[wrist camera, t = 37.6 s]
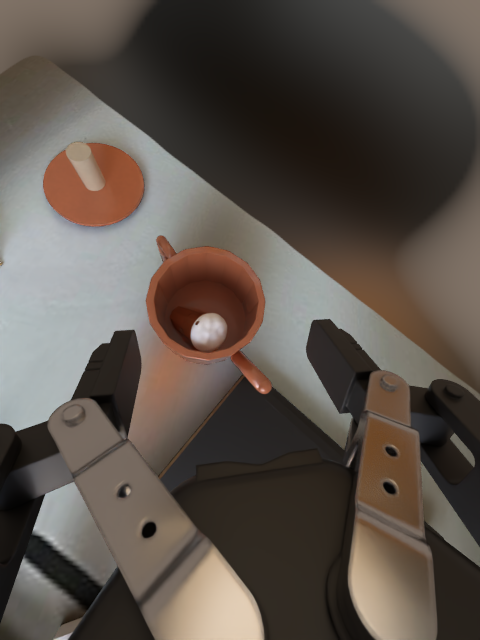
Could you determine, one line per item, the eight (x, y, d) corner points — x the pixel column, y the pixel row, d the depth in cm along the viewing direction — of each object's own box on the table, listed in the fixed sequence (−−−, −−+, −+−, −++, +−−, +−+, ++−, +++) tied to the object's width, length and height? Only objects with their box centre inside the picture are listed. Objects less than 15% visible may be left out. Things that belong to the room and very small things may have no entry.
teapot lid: (29, 171, 39) (-5, 131, 33) (114, 136, 43) (99, 93, 36) (78, 245, 38) (53, 218, 32) (162, 202, 41) (155, 170, 35)
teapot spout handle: (159, 261, 37) (151, 237, 31) (170, 254, 38) (164, 230, 32) (253, 394, 35) (264, 398, 29) (263, 386, 36) (277, 388, 30)
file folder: (106, 544, 28) (253, 366, 34) (118, 524, 32) (247, 367, 38) (350, 772, 26) (453, 543, 33) (330, 721, 30) (426, 526, 37)
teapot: (141, 307, 37) (123, 284, 28) (216, 262, 40) (221, 227, 31) (193, 383, 36) (191, 384, 27) (266, 330, 39) (286, 315, 30)
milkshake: (173, 290, 35) (211, 304, 27) (202, 312, 38) (242, 331, 30) (152, 318, 34) (185, 341, 26) (183, 338, 37) (220, 364, 29)
